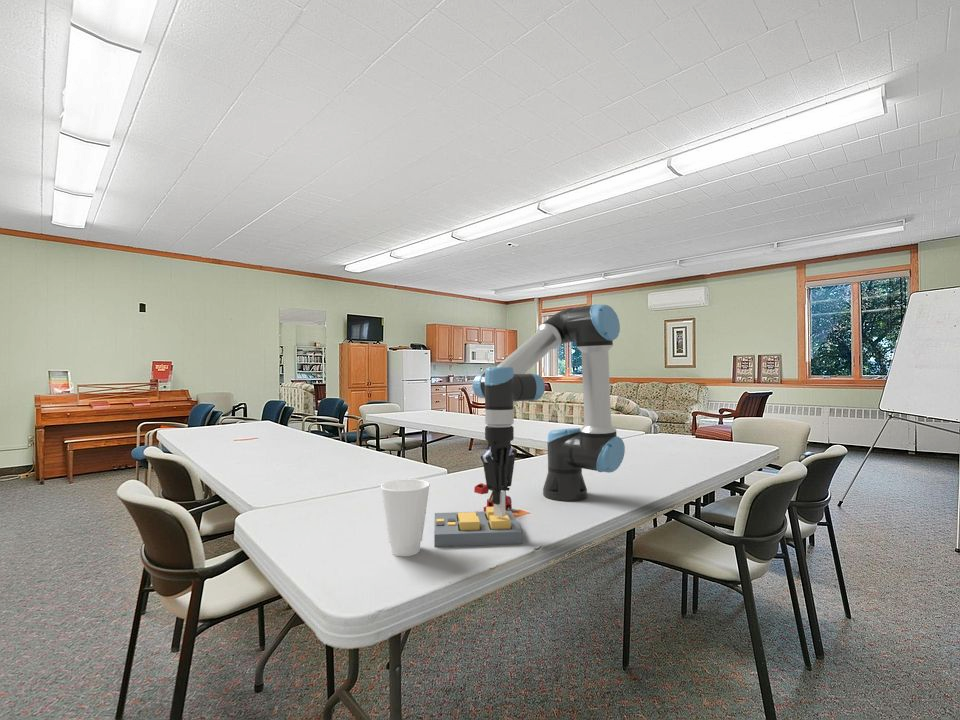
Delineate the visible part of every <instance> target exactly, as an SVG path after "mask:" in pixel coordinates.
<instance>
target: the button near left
mask: <svg viewBox="0 0 960 720" xmlns="http://www.w3.org/2000/svg"><path fill="white" fill-rule="evenodd" d="M489 524H490V527H491V529H494V530H499V529H511V520H510V518H509V516H508V515H505V516H504V517H498V516H494V515H489Z"/></svg>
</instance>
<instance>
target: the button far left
mask: <svg viewBox="0 0 960 720" xmlns="http://www.w3.org/2000/svg"><path fill="white" fill-rule="evenodd" d="M485 507H486V506H485ZM506 511H507V510H505V515H506ZM486 515H487V518H488V520H489V515H494V507H486Z"/></svg>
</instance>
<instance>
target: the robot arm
mask: <svg viewBox="0 0 960 720" xmlns="http://www.w3.org/2000/svg"><path fill="white" fill-rule="evenodd" d="M620 330H621V324H620V318H619V316H618V314H617V312H616V311H615V310H614V308H612V306H610V305H608V304H592V305H586V306H585V305H584V306H578V307H568V308H564V309H562V310H560V311H559V312H557V313H555V314H553V315H551V317H549V318H547V319H546V320H544V321H543V322H542V323H541V324H540V325H539V326H538V327H537V329H536V332H535V333H534V334H533V335H532V336H531V337H529V338H528V339H527V340H526V341H525V342H524V343H523V344H521V345H520V346H519V347H518V348H516V349H515V350H514V351H513V352H512V353H511V354H509V355H508V356H507V357H506V358H504V360H502V361H501V362H500V363H499V364H497V365H496V366H489V367H487V368H486V369H485V372H483V373H480V374H477V375H476V376H475V377H474V378H473V381H472V391H473V394H474V395H475V396H476V397H477V398H479V399H484V409H485V410H484V411H485V412H484V413H485V414H484V420H485V421H484V423H485V424H486V426H484V438H485V439H484V440H485V441H487V442H488V443H487V447H486V452H485V453H484V454H480V459H481V461H482V465H483V472H484V478H485V484H486V485H487V489H488V490H489V491H491V492H492V491H493V504H494V516H498V517H504V516H505V502H506V495H507V491H508V492H509V491H510V489H511V488H510V487H512V481H513V474H514V468H515V461H516V457H517V453H518V450H517V449H514V448H512V443H511V442H512V441H513V440H514V436H515V435H514V428H515V427H514V426H513V425H514V423H515V420H514V419H515V418H514V417H515V413H514V411H515V410H514V406H515V405H514V404H515V403H514V402H533V401H538V400H540V399H542V397H543V396H544V395H545V391H546V384H545V380H544V379H543V378H542V376H540V375H538V374H535V373H527V372H529V371H530V370H531V369H532V368H533V367H534V366H535V365H537V363H538V362H540V360H541V359H543V358H544V357H546V355H547V354H548V353H550V351H551V350H556V349H559V348H560V346H562V345H564V344H568V343H575V344H576V349H578V350H579V352H580V353H581V371H582V373H581V374H582V375H581V376H582V378H581V379H582V395H583V396H582V398H583V399H582V400H583V421H584V424H583V425H582V427H569V428H561V429H554V430H553V429H552V430H550V431H549V432H548V434H547V474H546V479H545V481H544V483H543V484H544V485H543V488H542V495H543V497H545V498H547V499H550V500H556V501H564V502H565V501H566V502H572V501H581V500H585V499H586V498H587V497H588V488H587V486H586V483H585V479H584V476H583V470H589V471H590V470H591V471H596V472H598V473H609V474H610V473H614V472H615V471H616V470H618V469H619V468H620V466H621V464H622V462H623V460H624V457H625V451H626V449H625V448H626V445H625V442H624V440H623V438H621V437H620V436H617V435H618V434H617V429H616V428H615V427H614V426H613V425H612V409H611V408H612V407H611V384H610V383H611V382H610V381H611V380H610V364H609V362H610V358H609V351H610V350H611V349H612V348H613V347H614V341H615V340H617V338H618V337H619V335H620Z"/></svg>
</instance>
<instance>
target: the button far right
mask: <svg viewBox="0 0 960 720" xmlns="http://www.w3.org/2000/svg"><path fill="white" fill-rule="evenodd" d="M461 512H462V513H458V521H459V516H477V515H476V512H477V511H461Z"/></svg>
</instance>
